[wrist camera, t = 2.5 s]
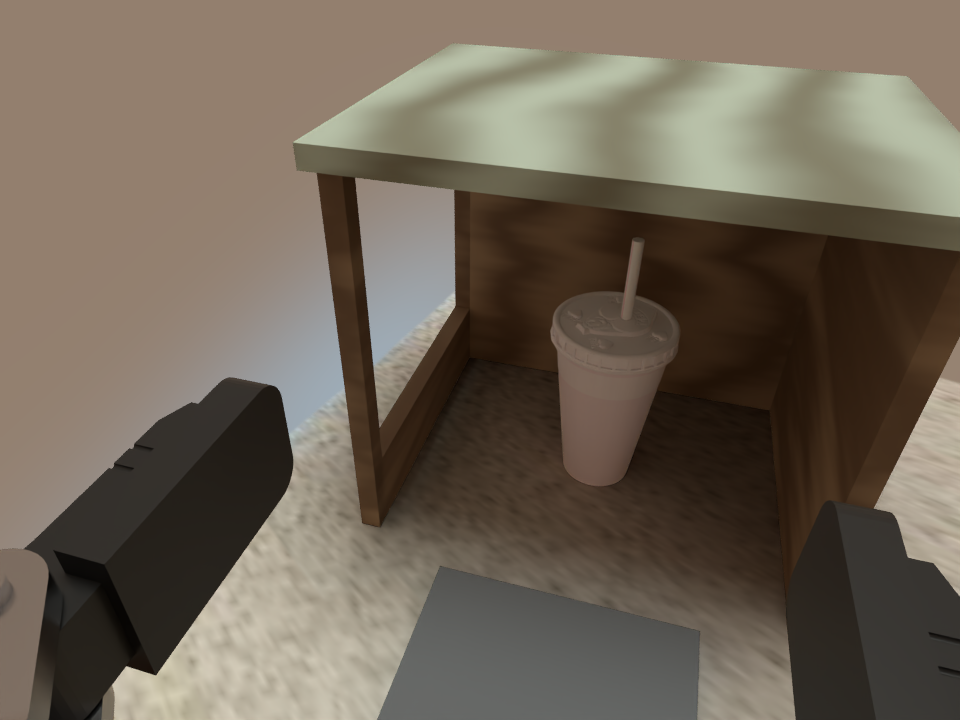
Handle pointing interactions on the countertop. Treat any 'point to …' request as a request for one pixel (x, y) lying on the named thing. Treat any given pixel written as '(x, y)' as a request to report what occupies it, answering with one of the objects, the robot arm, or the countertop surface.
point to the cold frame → (668, 243)
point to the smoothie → (609, 373)
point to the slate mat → (539, 659)
